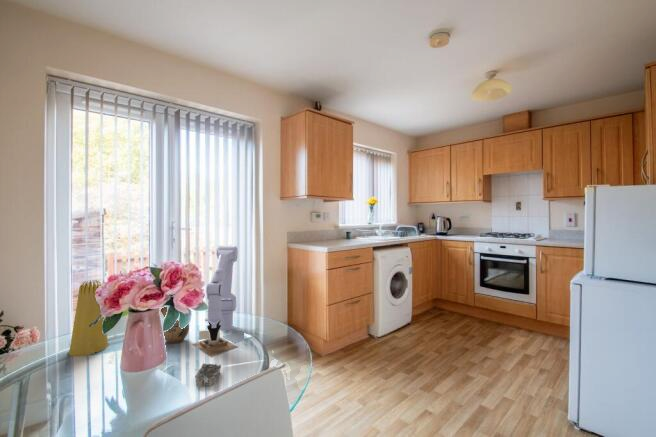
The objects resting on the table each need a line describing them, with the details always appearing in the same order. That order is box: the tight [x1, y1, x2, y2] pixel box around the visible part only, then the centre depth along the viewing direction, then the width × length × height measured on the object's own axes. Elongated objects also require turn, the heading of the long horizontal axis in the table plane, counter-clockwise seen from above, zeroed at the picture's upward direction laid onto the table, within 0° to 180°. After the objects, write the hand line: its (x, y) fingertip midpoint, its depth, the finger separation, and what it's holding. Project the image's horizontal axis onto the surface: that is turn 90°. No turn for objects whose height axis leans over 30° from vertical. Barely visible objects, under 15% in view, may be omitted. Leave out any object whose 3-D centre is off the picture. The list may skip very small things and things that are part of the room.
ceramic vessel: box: [160, 307, 190, 344], centre depth 137 cm, size 16×9×25 cm, turn 93°
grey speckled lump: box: [194, 362, 222, 388], centre depth 108 cm, size 11×8×4 cm
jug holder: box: [191, 336, 238, 358], centre depth 133 cm, size 18×13×2 cm
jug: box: [198, 328, 221, 345], centre depth 133 cm, size 9×5×7 cm, turn 110°
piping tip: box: [68, 279, 109, 357], centre depth 128 cm, size 14×14×30 cm
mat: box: [222, 330, 247, 344], centre depth 144 cm, size 11×11×1 cm
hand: (213, 337), depth 134 cm, fingers closed on jug, 5 cm apart
